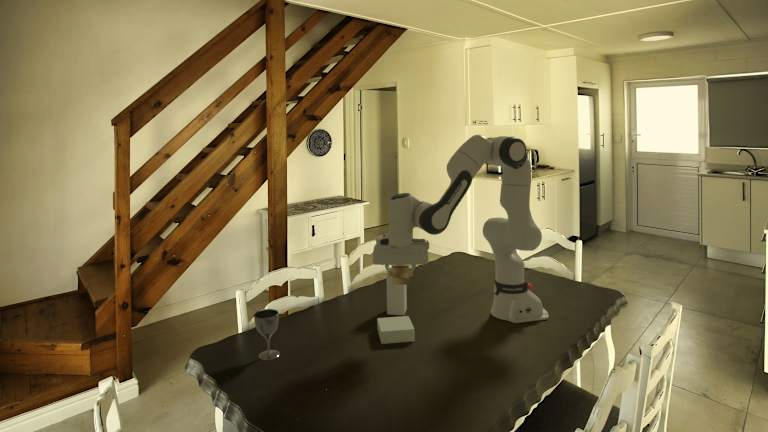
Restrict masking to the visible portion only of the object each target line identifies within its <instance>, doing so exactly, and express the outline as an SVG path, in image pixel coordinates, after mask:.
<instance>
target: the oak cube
mask: <svg viewBox="0 0 768 432" xmlns="http://www.w3.org/2000/svg"><path fill="white" fill-rule="evenodd" d="M391 268H392V285H410V276H409V270H410V265H391Z"/></svg>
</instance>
